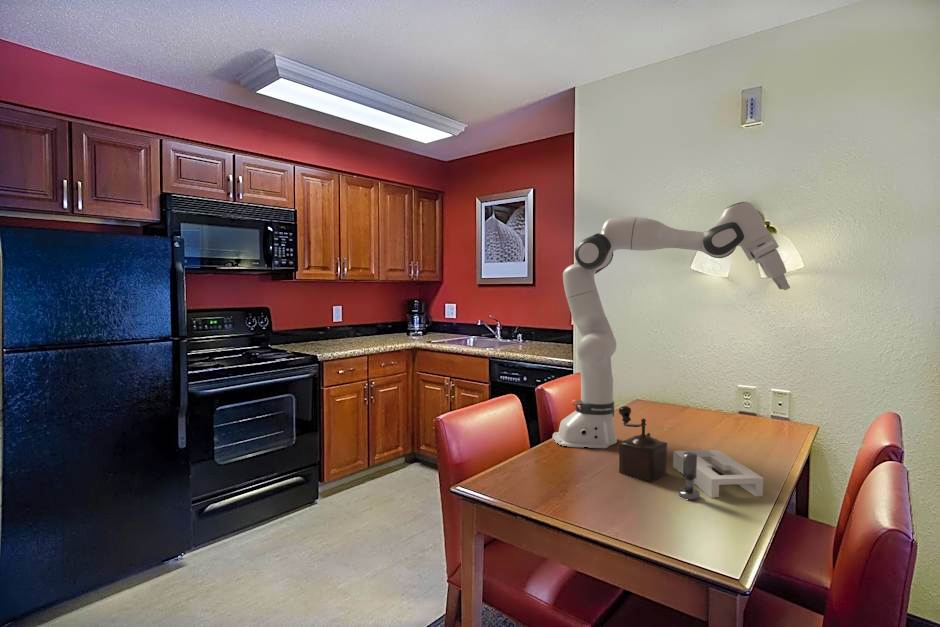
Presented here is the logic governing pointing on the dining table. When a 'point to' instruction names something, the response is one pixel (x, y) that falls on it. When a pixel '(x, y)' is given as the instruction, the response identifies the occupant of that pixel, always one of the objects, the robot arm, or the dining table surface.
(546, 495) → the dining table surface
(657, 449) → the manual coffee grinder
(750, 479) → the keyhole board
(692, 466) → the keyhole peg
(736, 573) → the dining table surface
